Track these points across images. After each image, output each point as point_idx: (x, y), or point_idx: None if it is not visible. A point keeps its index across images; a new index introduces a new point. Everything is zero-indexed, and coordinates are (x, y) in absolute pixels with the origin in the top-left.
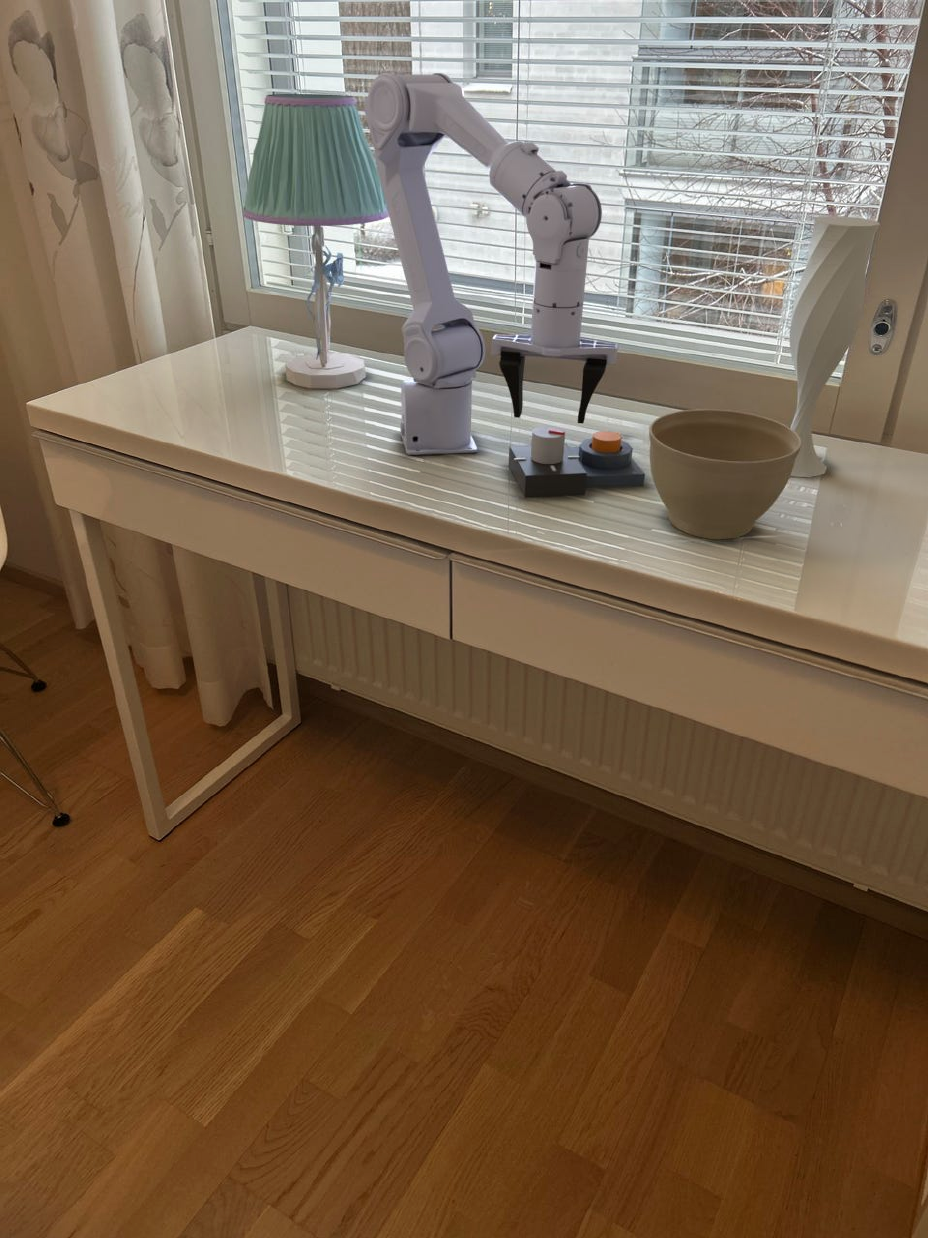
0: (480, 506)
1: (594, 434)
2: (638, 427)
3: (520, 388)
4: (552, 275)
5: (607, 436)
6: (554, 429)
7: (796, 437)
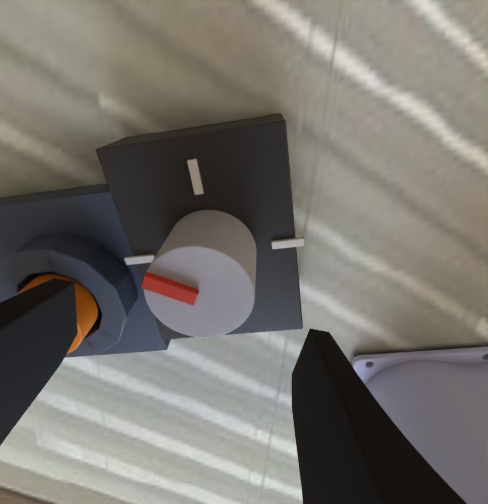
0: (415, 51)
1: (77, 336)
2: (53, 440)
3: (326, 461)
4: None
5: None
6: (179, 315)
7: None
